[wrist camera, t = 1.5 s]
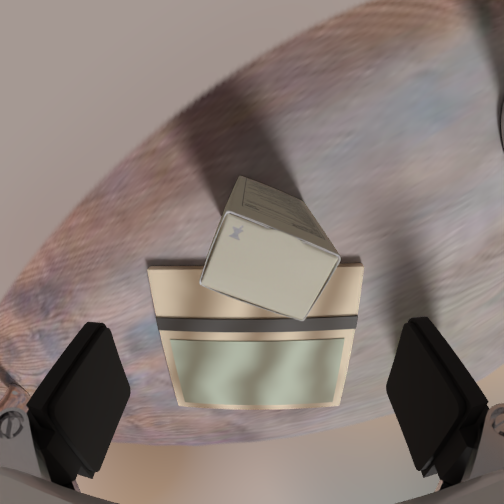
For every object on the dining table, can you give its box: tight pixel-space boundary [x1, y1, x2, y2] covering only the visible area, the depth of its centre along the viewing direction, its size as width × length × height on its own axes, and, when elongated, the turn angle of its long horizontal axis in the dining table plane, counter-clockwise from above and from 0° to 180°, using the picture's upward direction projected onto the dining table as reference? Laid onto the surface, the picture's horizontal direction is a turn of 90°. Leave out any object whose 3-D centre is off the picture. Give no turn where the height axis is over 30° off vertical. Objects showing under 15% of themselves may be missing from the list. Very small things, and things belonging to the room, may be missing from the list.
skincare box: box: [199, 176, 341, 321], centre depth 21 cm, size 6×4×12 cm
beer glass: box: [0, 383, 31, 413], centre depth 33 cm, size 7×7×15 cm
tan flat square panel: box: [147, 263, 364, 410], centre depth 31 cm, size 20×19×1 cm
